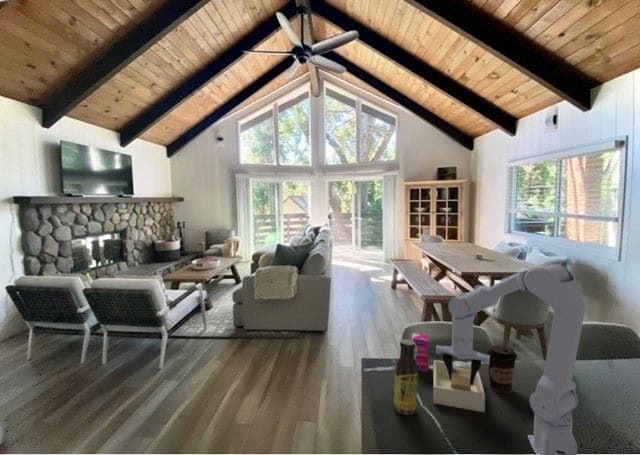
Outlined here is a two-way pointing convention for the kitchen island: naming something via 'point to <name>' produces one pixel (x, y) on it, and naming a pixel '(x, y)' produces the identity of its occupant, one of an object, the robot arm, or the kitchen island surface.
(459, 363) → the sage cylinder
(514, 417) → the kitchen island surface
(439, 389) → the box
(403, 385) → the sauce bottle
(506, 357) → the coffee cup
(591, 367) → the kitchen island surface
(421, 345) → the supplement box
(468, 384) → the oak cube
